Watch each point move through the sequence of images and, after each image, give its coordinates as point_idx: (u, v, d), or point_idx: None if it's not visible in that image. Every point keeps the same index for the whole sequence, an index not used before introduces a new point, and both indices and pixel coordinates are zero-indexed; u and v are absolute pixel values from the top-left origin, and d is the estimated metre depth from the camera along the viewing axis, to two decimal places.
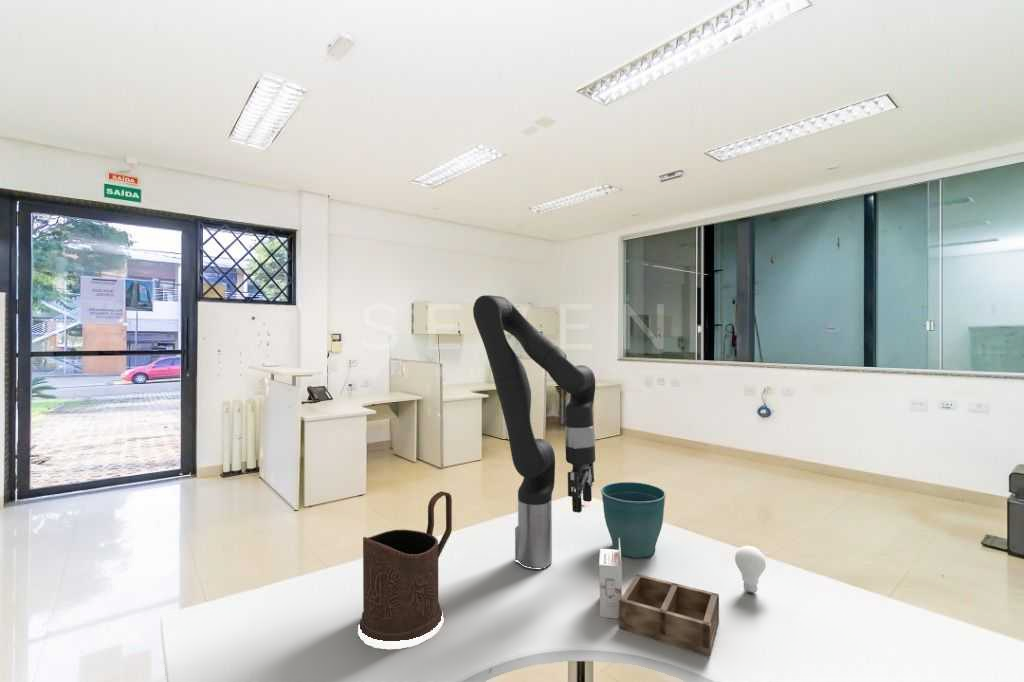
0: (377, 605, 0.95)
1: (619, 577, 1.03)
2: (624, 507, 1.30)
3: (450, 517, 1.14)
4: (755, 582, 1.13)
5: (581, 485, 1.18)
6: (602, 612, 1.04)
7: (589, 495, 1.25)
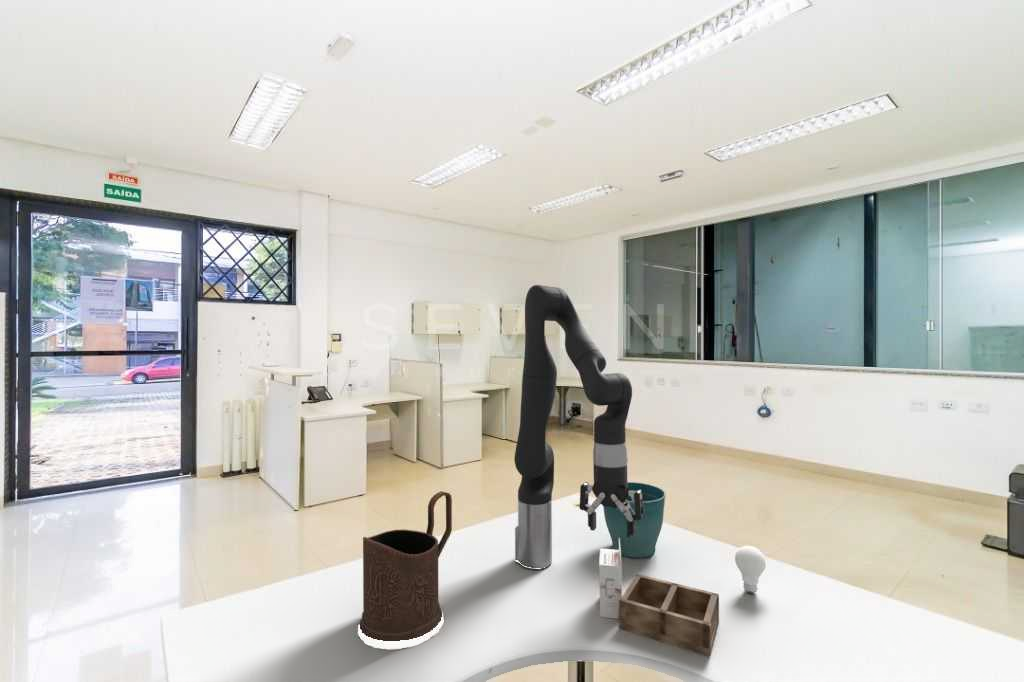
0: (377, 605, 0.95)
1: (619, 577, 1.03)
2: None
3: (450, 517, 1.14)
4: (755, 582, 1.13)
5: (629, 504, 1.07)
6: (602, 612, 1.04)
7: (595, 521, 1.11)
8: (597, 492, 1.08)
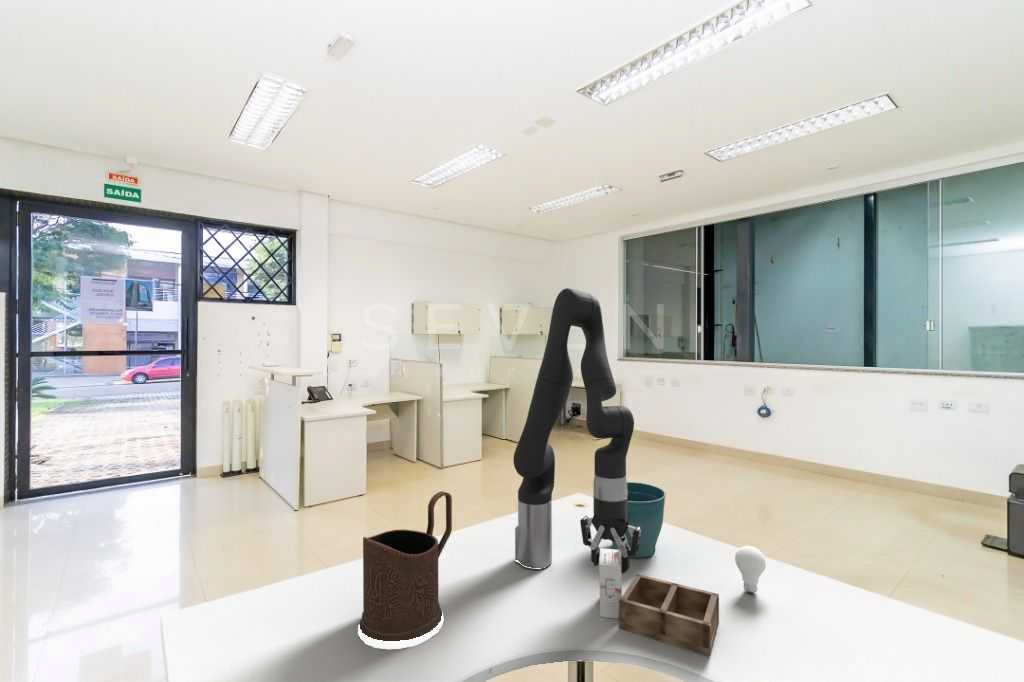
0: (377, 605, 0.95)
1: (619, 577, 1.03)
2: None
3: (450, 517, 1.14)
4: (755, 582, 1.13)
5: (626, 539, 1.07)
6: (602, 612, 1.04)
7: (598, 556, 1.10)
8: (597, 524, 1.08)
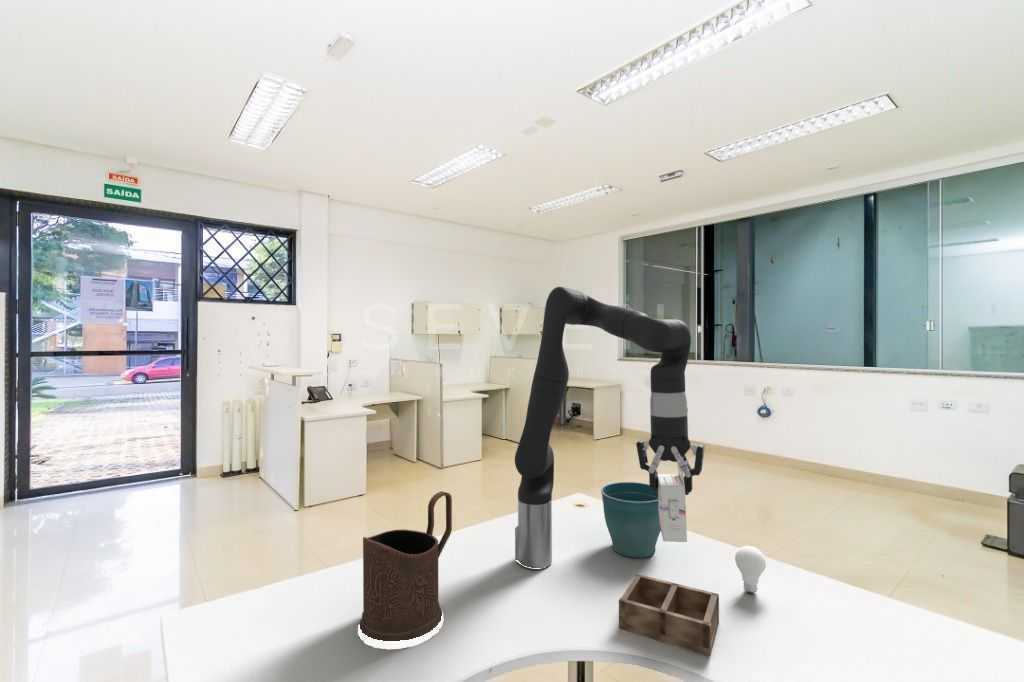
0: (377, 605, 0.95)
1: (683, 497, 0.97)
2: (624, 507, 1.30)
3: (450, 517, 1.14)
4: (755, 582, 1.13)
5: (687, 460, 1.01)
6: (665, 535, 0.98)
7: (657, 481, 1.03)
8: (655, 445, 1.02)
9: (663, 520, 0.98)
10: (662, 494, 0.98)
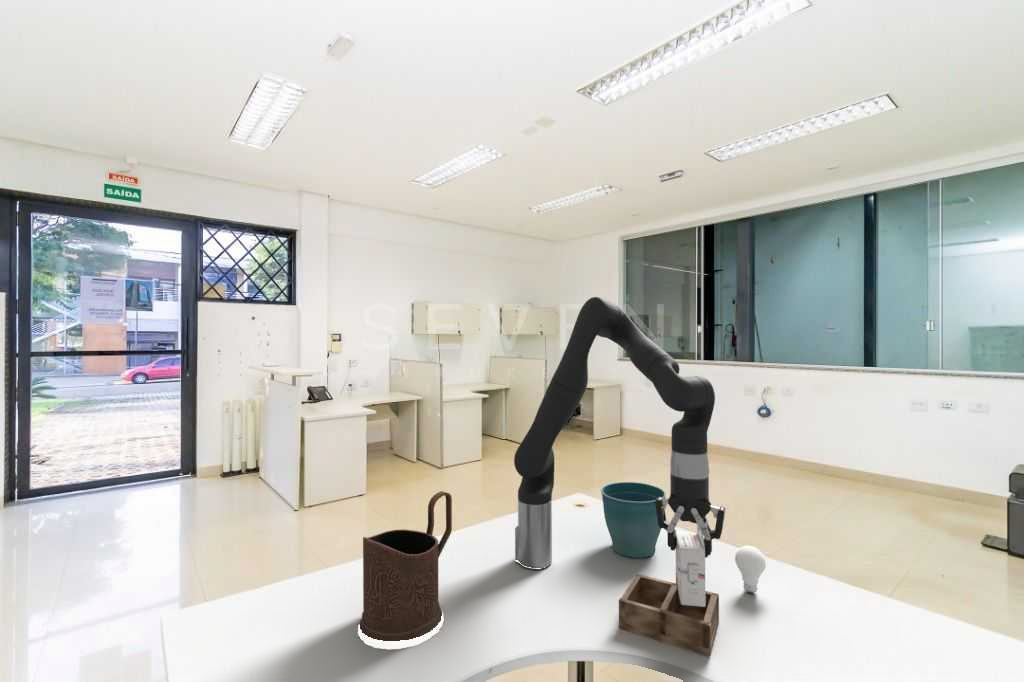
0: (377, 605, 0.95)
1: (703, 561, 0.95)
2: (624, 507, 1.30)
3: (450, 517, 1.14)
4: (755, 582, 1.13)
5: (707, 521, 0.99)
6: (683, 599, 0.96)
7: (675, 540, 1.02)
8: (675, 505, 1.00)
9: (682, 583, 0.96)
10: (681, 557, 0.96)
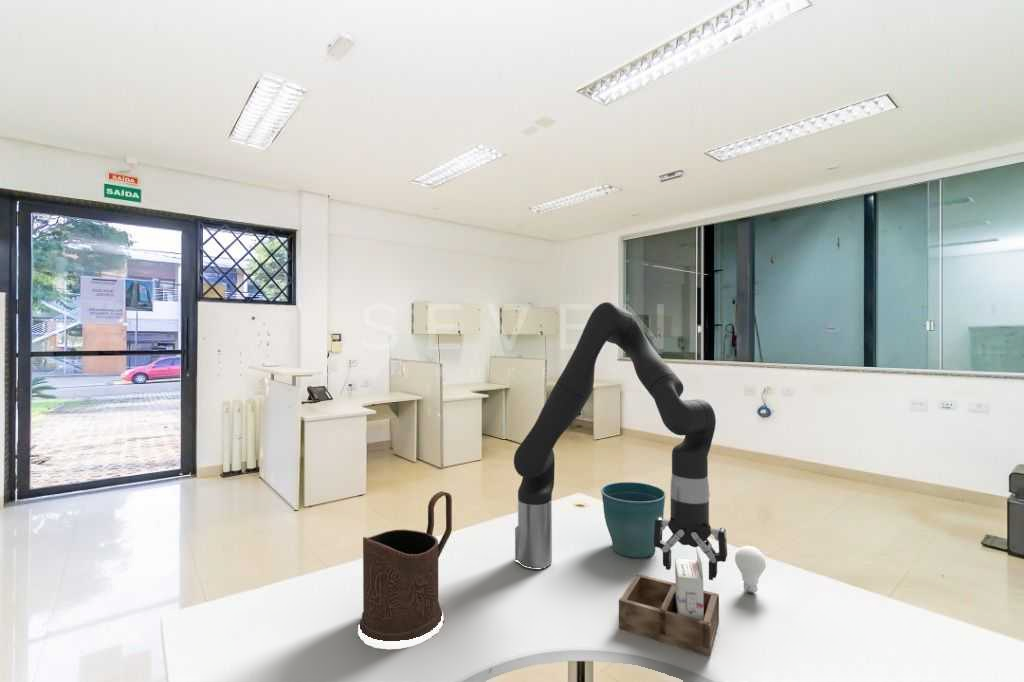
0: (377, 605, 0.95)
1: (701, 591, 0.95)
2: (624, 507, 1.30)
3: (450, 517, 1.14)
4: (755, 582, 1.13)
5: (710, 543, 0.98)
6: None
7: (670, 559, 1.02)
8: (674, 529, 1.00)
9: (680, 612, 0.96)
10: (679, 586, 0.96)
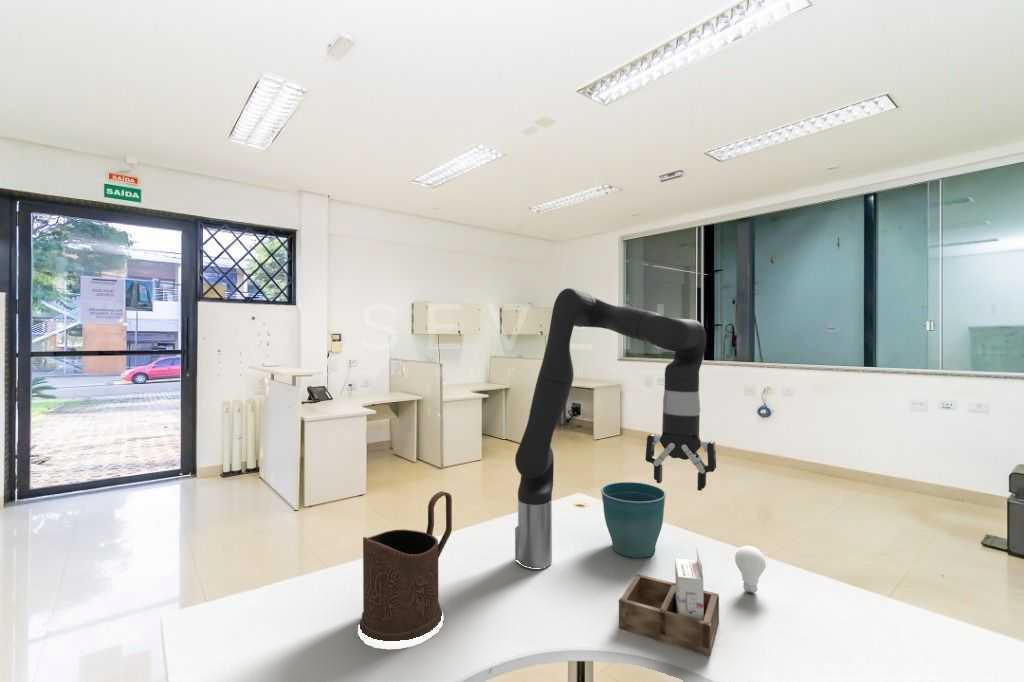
0: (377, 605, 0.95)
1: (701, 591, 0.95)
2: (624, 507, 1.30)
3: (450, 517, 1.14)
4: (755, 582, 1.13)
5: (699, 457, 1.02)
6: None
7: (661, 474, 1.05)
8: (666, 443, 1.03)
9: (680, 612, 0.96)
10: (679, 586, 0.96)
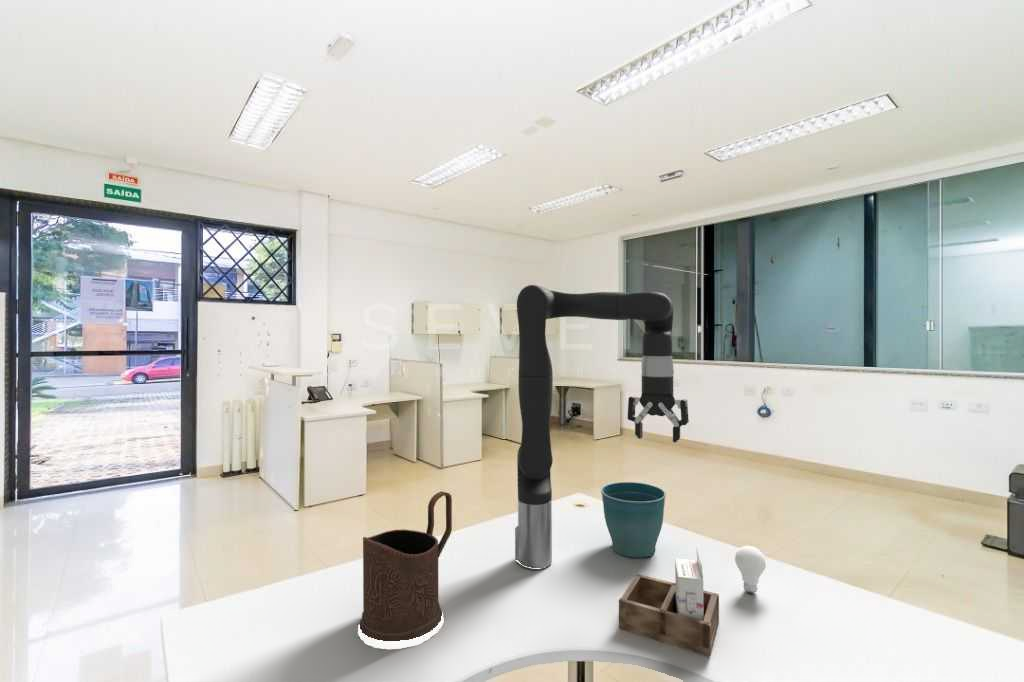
0: (377, 605, 0.95)
1: (701, 591, 0.95)
2: (624, 507, 1.30)
3: (450, 517, 1.14)
4: (755, 582, 1.13)
5: (674, 413, 1.16)
6: None
7: (642, 431, 1.20)
8: (645, 402, 1.18)
9: (680, 612, 0.96)
10: (679, 586, 0.96)
